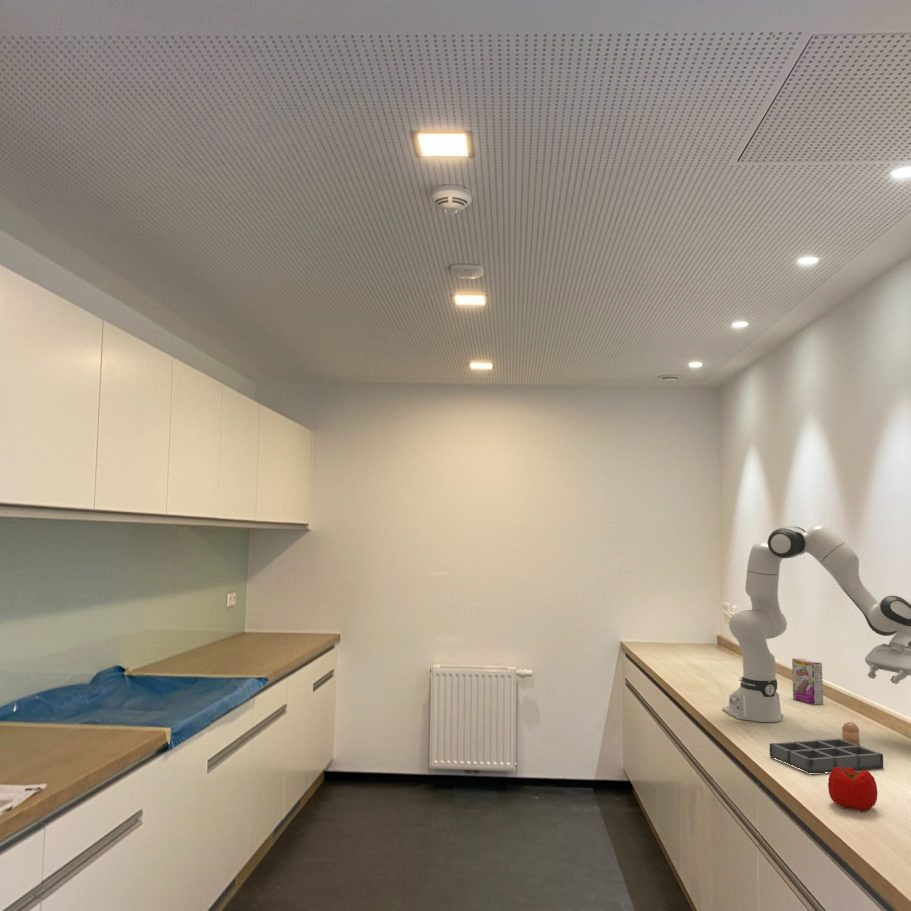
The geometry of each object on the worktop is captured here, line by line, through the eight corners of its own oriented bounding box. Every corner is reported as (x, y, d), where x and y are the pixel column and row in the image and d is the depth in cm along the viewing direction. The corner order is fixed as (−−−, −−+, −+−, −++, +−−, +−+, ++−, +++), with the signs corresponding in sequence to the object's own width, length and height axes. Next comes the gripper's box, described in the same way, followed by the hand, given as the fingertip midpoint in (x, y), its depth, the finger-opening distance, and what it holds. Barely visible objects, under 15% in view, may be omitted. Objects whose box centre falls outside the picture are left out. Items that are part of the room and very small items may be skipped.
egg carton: (769, 757, 238) (769, 743, 238) (839, 751, 244) (839, 738, 244) (809, 774, 221) (809, 759, 221) (883, 768, 228) (882, 754, 228)
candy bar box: (792, 699, 319) (791, 658, 320) (801, 698, 320) (800, 657, 322) (814, 705, 308) (813, 662, 310) (823, 704, 310) (822, 662, 312)
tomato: (882, 806, 197) (881, 768, 197) (869, 819, 188) (868, 779, 188) (837, 796, 204) (836, 759, 204) (822, 808, 195) (821, 770, 196)
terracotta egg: (839, 746, 250) (838, 721, 250) (851, 745, 251) (851, 720, 252) (850, 751, 245) (849, 724, 246) (863, 750, 246) (862, 723, 247)
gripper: (874, 636, 266) (851, 667, 263) (924, 644, 247) (900, 678, 243) (885, 649, 267) (863, 680, 263) (937, 659, 247) (913, 692, 244)
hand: (881, 679), depth 253 cm, fingers open, 8 cm apart
